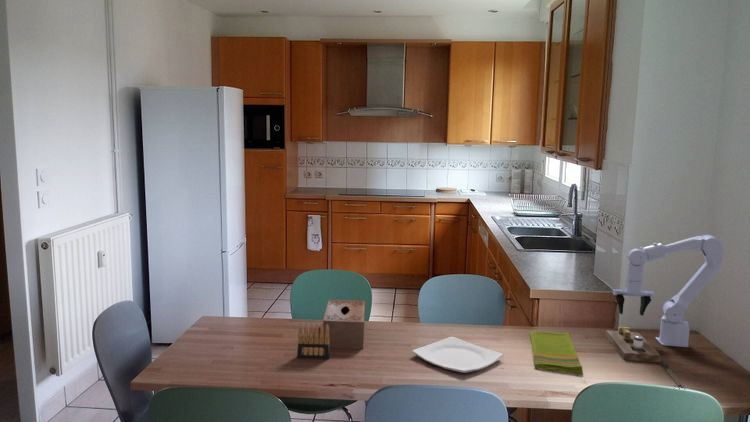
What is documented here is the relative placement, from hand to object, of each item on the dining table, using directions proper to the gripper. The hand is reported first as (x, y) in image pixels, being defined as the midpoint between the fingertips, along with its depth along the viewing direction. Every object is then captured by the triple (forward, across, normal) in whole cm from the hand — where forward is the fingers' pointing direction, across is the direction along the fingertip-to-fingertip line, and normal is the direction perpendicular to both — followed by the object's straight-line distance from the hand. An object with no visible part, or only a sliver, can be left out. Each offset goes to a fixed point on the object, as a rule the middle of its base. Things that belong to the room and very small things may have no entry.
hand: (631, 314), depth 223 cm
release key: (+7, +3, +5) cm, 9 cm away
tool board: (+9, +3, +13) cm, 16 cm away
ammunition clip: (+10, +115, +47) cm, 125 cm away
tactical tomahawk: (+10, -4, +38) cm, 39 cm away
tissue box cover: (+10, +109, +23) cm, 112 cm away
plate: (+10, +67, +37) cm, 77 cm away
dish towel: (+10, +32, +23) cm, 41 cm away
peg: (+9, +3, +20) cm, 22 cm away
